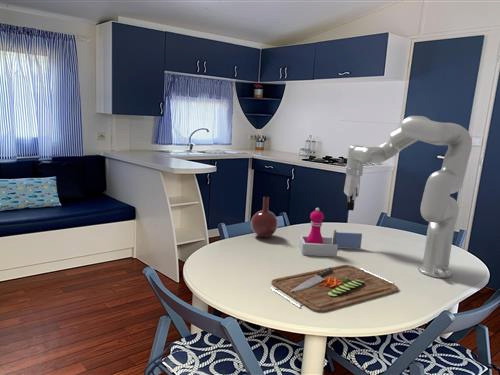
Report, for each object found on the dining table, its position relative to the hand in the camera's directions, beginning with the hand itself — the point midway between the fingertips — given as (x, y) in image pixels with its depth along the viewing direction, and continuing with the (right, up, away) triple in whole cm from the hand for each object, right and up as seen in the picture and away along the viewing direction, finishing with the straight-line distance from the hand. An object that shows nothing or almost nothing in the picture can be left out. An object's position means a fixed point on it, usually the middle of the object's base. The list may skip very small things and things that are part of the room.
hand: (349, 209), depth 198 cm
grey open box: (-17, -18, -10) cm, 27 cm away
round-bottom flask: (-41, -14, +7) cm, 44 cm away
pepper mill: (-19, -18, -10) cm, 28 cm away
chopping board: (-17, -26, -48) cm, 57 cm away
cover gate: (-3, -17, -3) cm, 18 cm away
